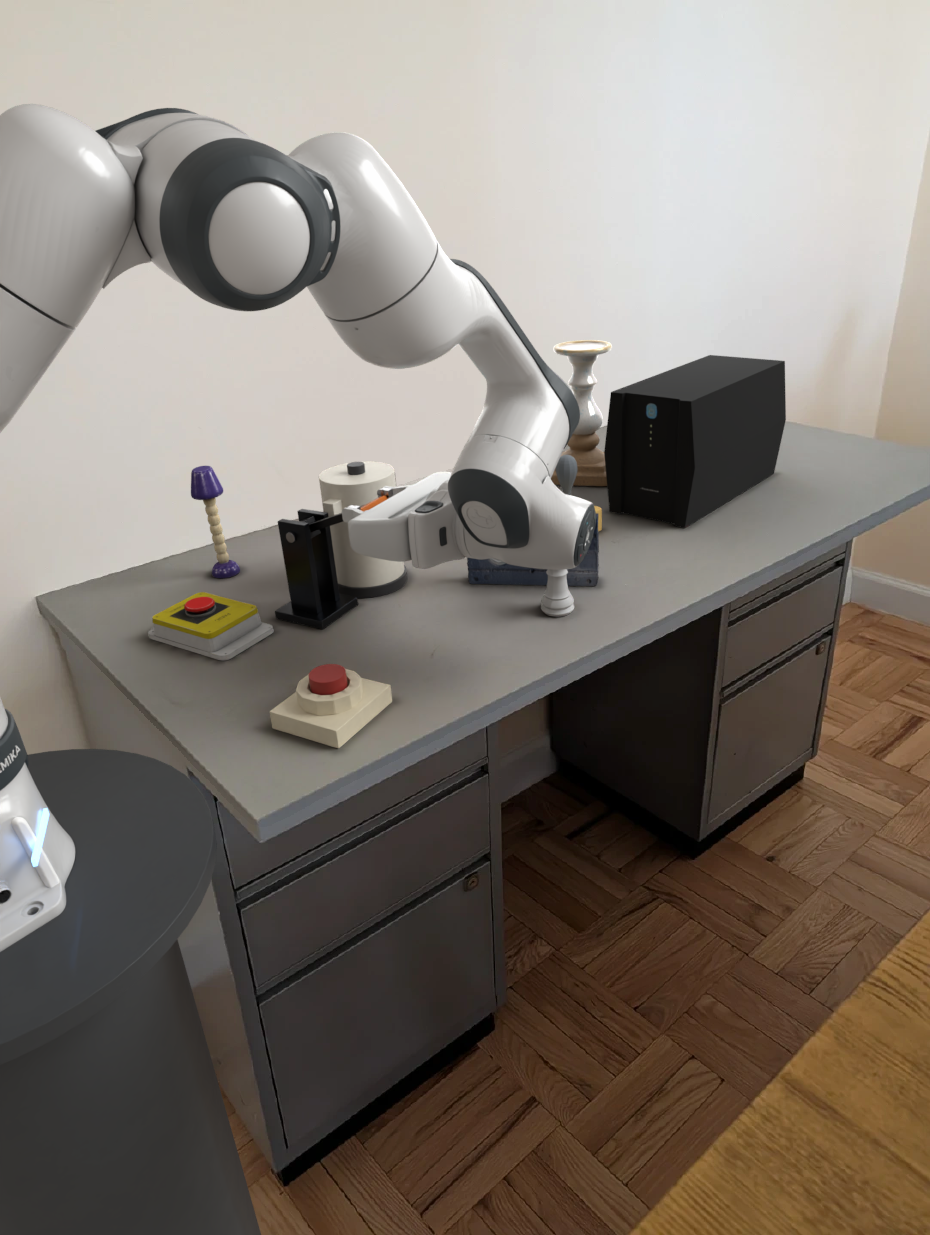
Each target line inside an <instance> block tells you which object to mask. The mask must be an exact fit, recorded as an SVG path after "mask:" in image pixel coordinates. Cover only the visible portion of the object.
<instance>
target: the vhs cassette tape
mask: <svg viewBox="0 0 930 1235" xmlns="http://www.w3.org/2000/svg"><path fill="white" fill-rule="evenodd" d="M599 533H600V531H598V513H596V524H595V530H594V533H593V538H592V541H591V544H590V546H589V549H588V551H587V553H586V556H585V558H584V559H583V561H582V562H581V563H580V564H579V565H578V566H577V567H575V568H571V569H567V571H568V573H567V585H568V587H569V586H570V587H572V586H573V587H596V586H597V585H598V581H599V566H600V565H599V562H600V560H599V554H600V548H599V547H600V546H599V545H600V542H599V541H600V540H599V538H600V534H599ZM466 559H467V562H466V565H467V577H468V578H467V579H468V583H469V584H471V585H483V584H484V585H511V586H512V585H513V586H514V585H516V586H517V585H522V586H527V585H530V586H531V585H532V586H547V582H548V575H547V573H546V571H547V570H548V569H536V568H528V567H521V566H515V565H510V564H507V563H505V562H503V561H501V560H499V559H494V558H490V559H482V560H481V559H473V558H467V557H466Z"/></svg>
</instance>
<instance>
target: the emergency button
mask: <svg viewBox="0 0 930 1235" xmlns="http://www.w3.org/2000/svg"><path fill="white" fill-rule="evenodd" d="M151 618H152V626H153V628H151V629H149V630H148V631H147V636H148V638H149V639H150V640H153V641H157V642H160V643H163V644H166V645H169V646H173V647H174V648H175V647H176V648H179V649H182V650H186V651H189V652H191V653H195V654H198V655H202V656H205V657H208V658H211V659H213V660H217V661H228V660H231V659H232V658H234V657H236V656H238V655H239V654H241V653H242V652H244V651H246V650H248V649H249V648H251V647H253V646H254V645H256V644H258V643H259V642H260V641H262V640H264V639H266V638H267V637H269V636H271V635H272V634H273V633H274V627H273V625H272V624H270V623H266V622H262V621H261V617H260V614H259V610H258V607H257V605H255V604H253V603H248V602H244V601H241V600H238V599H237V600H236V599H232V598H230V597H224V596H221V595H217V594H213V593H209V592H206V591H199V592H197V593H194V594H191V595H190V596H189V597H186V598H184V599H183V600H181V601H179V602H177V603H175V604H173V605H171V606H169V607H167V608H165V609H163V610H161V611H159V612H157V613H155V614H153V615H152V617H151Z"/></svg>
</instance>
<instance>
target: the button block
mask: <svg viewBox="0 0 930 1235" xmlns="http://www.w3.org/2000/svg"><path fill="white" fill-rule="evenodd" d="M345 670H346V676H347V683H348V686H347V688H346V689H344V690H343V691H341V692H338V693H335V694H332V695H317V694H313V693H312V692H311V688H310V682H309V673H308V674H306V675H305V676H304V677H302V678H301V679H300V680H299V681H298V682H297V685H296V689H295V692H293V693H292V694H291V695H290V696H288V697H287V698H286V699H284V700H283V701H282V702H280V703H278V705H276V706H275V707H273V708H272V709H271V710H269V718H270V722H271V729H273V730H277V731H280V732H283V733H286V734H290V735H293V736H296V737H300V738H302V739H306V740H309V741H312V742H316V743H319V744H323V745H325V746H329V747H332V748H336V749H340V748H341V747H343V745H345V744H346V743H347V742H349V740H351V739H352V738H353V737H354V736H355V735H356V734H357V733H359V731H361V730H362V729H363V728H364V727H365V726H367V724H369V723H370V722H371V721H372V720H373V719H375V718H376V717H377V716H378V715H379V714H380V713H381V712H382V711H384V710H385V709H386V708H387V707H388V706H389V705H390V704H392V703H393V695H392V688H391V687H392V686H391V684H389V683H385V682H379V681H376V680H372V679H369V678H364V677H361V676H360V675H359V674H358V673H357V672H356V671H355V670H351V669H348V668H345Z"/></svg>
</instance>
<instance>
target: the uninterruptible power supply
mask: <svg viewBox="0 0 930 1235" xmlns="http://www.w3.org/2000/svg"><path fill="white" fill-rule="evenodd" d="M609 395H610V396H609V405H608V413H607V414H608V415H607V422H606V433H605V441H604V451H603V452H604V456H605V467H606V478H607V486H606V487H607V489H606V490H607V498H608V510H609V513H612V514H618V515H623V514H626V515H630V516H635V517H640V518H644V519H648V520H653V521H657V522H662V523H666V524H672V525H673V526H674V527H677V528H682V529H686V528H688V527H689V526H691V525H692V524H694V523H696V522H697V521H699V520H701V519H702V518H704V517H705V516H707V515H709V514H710V513H712V512H714V511H715V510H717V509H719V508H721V507H723V506H724V505H725V504H727V503H728V502H730V501H731V500H733V499H735V498H737V497H739V496H740V495H741V494H743V493H745V492H747V491H748V490H750V489H751V488H753V487H754V486H755V487H756V485H758V484H760V483H762V482H763V481H764V480H766V479H768V478H769V477H771V476H772V475H774V474H775V471H776V466H777V462H778V457H779V453H780V449H781V444H782V438H783V435H784V430H785V426H786V421H787V410H786V409H787V408H786V407H787V405H786V361H785V360H777V359H765V358H754V357H753V358H752V357H740V356H727V355H715V354H709V355H706V356H704V357H701V358H698V359H695V360H692V361H690V362H687V363H685V364H682V365H679V366H676V367H674V368H671V369H668V370H666V371H663V372H660V373H657V374H655V375H652V376H650V377H648V378H644V379H642V380H639V381H636V382H634V383H631V384H629V385H626V386H623V387H620V388H618V389H615V390H613V391H611V392H610V394H609Z"/></svg>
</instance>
